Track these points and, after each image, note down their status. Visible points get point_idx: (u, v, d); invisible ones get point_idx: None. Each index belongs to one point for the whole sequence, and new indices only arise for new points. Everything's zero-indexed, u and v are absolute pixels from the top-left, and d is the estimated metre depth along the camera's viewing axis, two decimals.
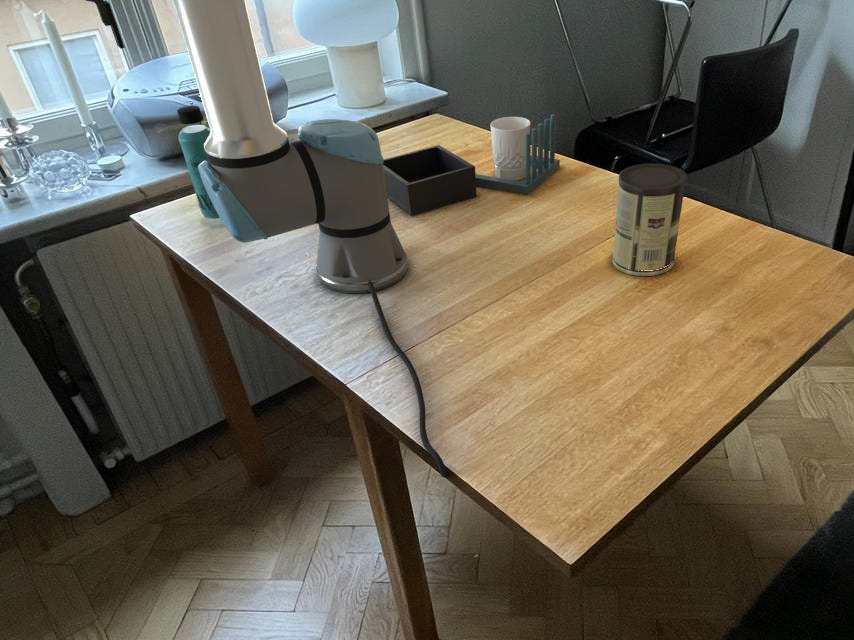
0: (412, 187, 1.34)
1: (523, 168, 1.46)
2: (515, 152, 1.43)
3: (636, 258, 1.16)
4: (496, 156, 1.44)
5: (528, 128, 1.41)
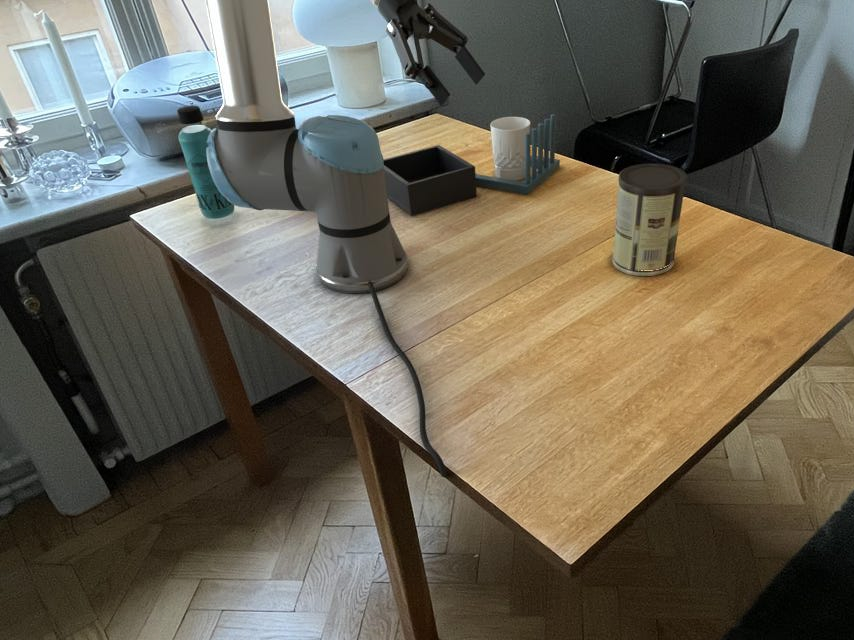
0: (412, 187, 1.34)
1: (523, 168, 1.46)
2: (515, 152, 1.43)
3: (636, 258, 1.16)
4: (496, 156, 1.44)
5: (528, 128, 1.41)
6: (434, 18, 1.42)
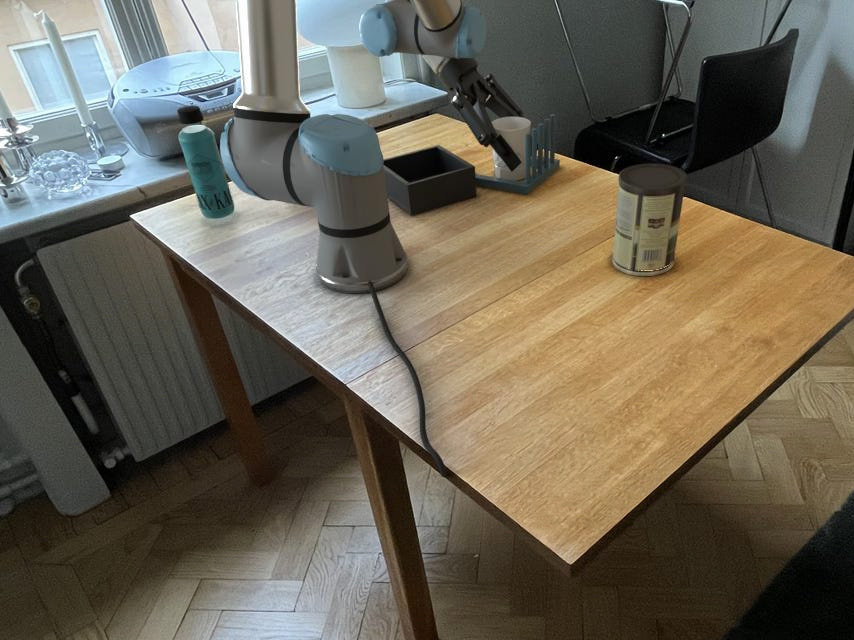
0: (412, 187, 1.34)
1: (523, 168, 1.46)
2: (515, 152, 1.43)
3: (636, 258, 1.16)
4: (496, 156, 1.44)
5: (528, 128, 1.41)
6: (493, 88, 1.45)
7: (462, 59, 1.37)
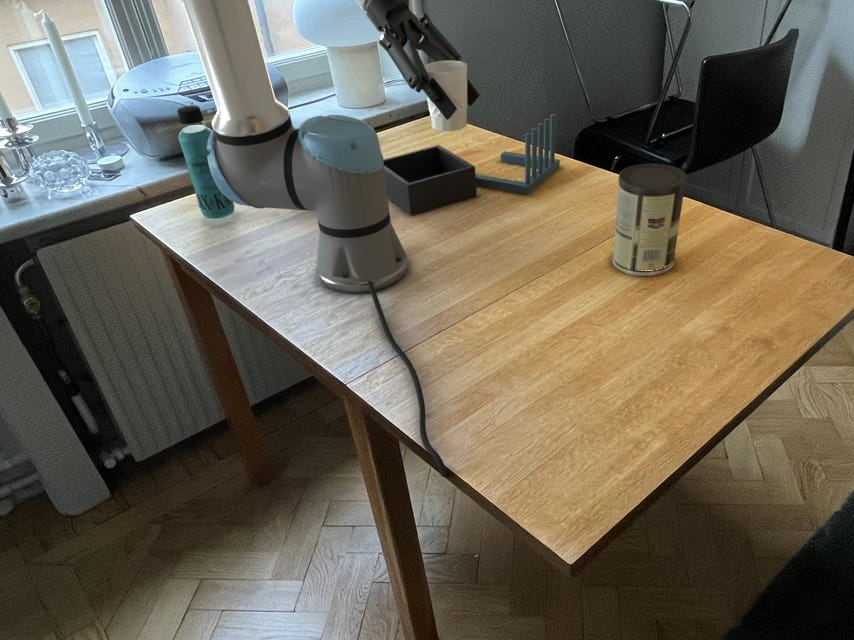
0: (412, 187, 1.34)
1: (460, 117, 1.34)
2: (451, 98, 1.31)
3: (636, 258, 1.16)
4: (431, 103, 1.33)
5: (464, 71, 1.29)
6: (428, 29, 1.33)
7: None
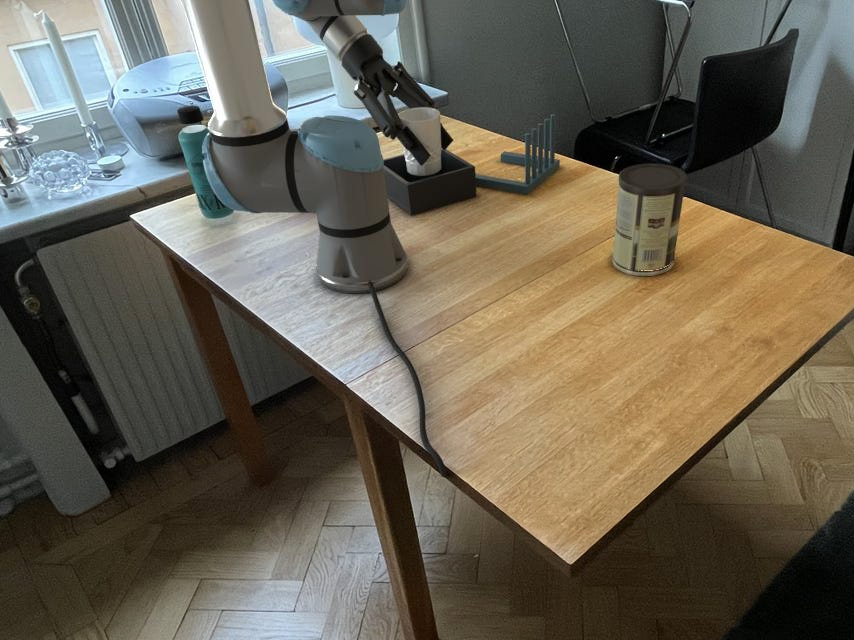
0: (412, 187, 1.34)
1: (435, 162, 1.38)
2: (424, 145, 1.35)
3: (636, 258, 1.16)
4: (405, 149, 1.37)
5: (437, 119, 1.33)
6: (402, 76, 1.37)
7: (364, 46, 1.29)
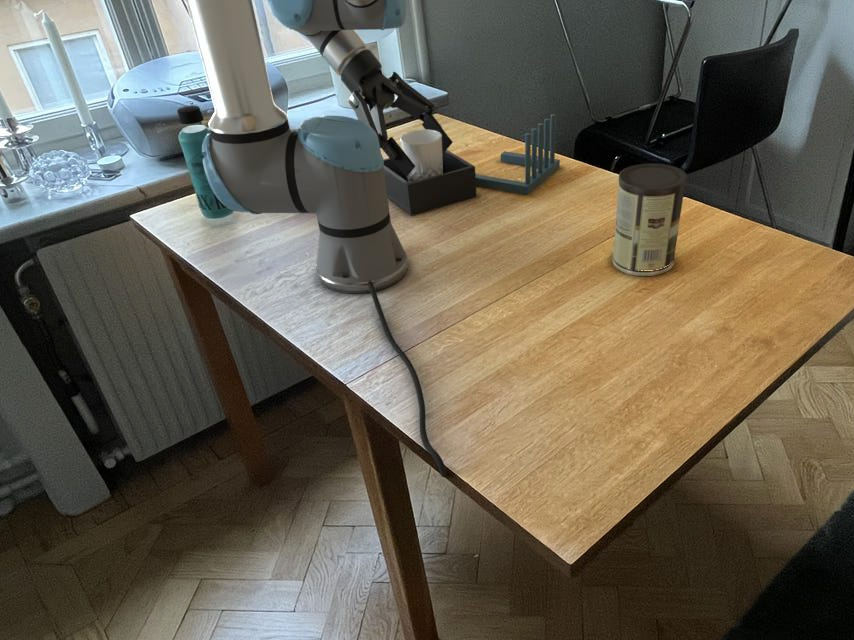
0: (412, 187, 1.34)
1: None
2: (426, 166, 1.37)
3: (636, 258, 1.16)
4: None
5: (439, 141, 1.36)
6: (400, 86, 1.39)
7: (363, 61, 1.31)
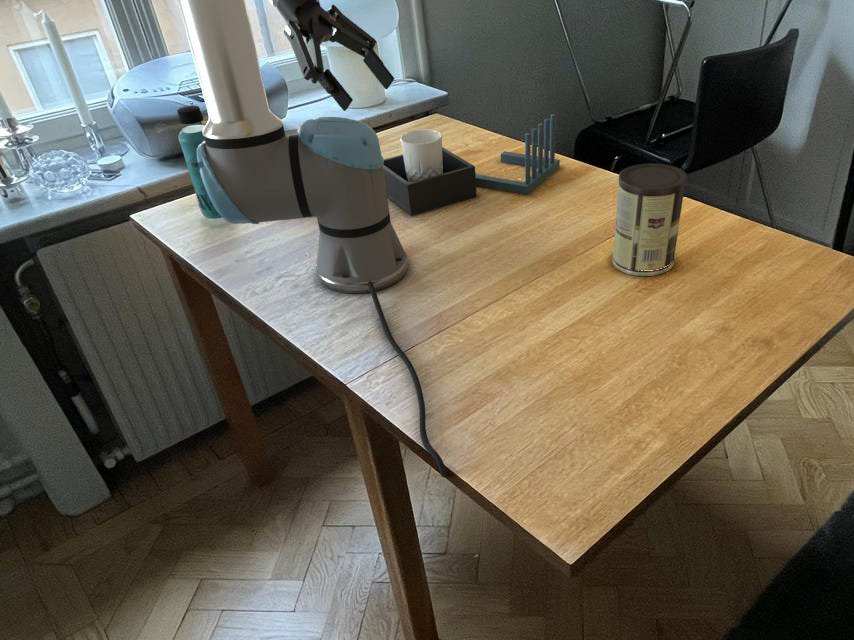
0: (412, 187, 1.34)
1: None
2: (426, 166, 1.37)
3: (636, 258, 1.16)
4: (407, 170, 1.39)
5: (439, 142, 1.36)
6: (339, 20, 1.36)
7: None
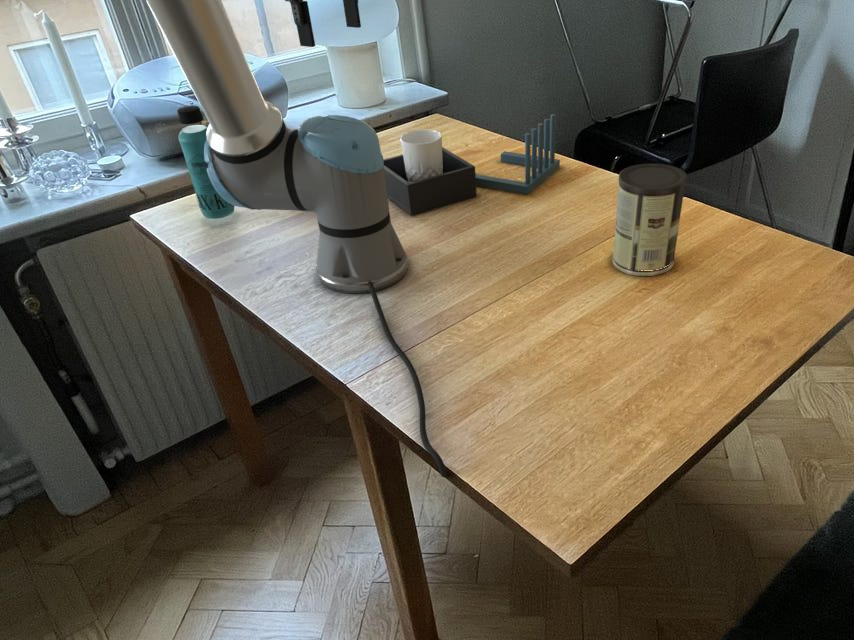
0: (412, 187, 1.34)
1: None
2: (426, 166, 1.37)
3: (636, 258, 1.16)
4: (407, 170, 1.39)
5: (439, 142, 1.36)
6: None
7: None
